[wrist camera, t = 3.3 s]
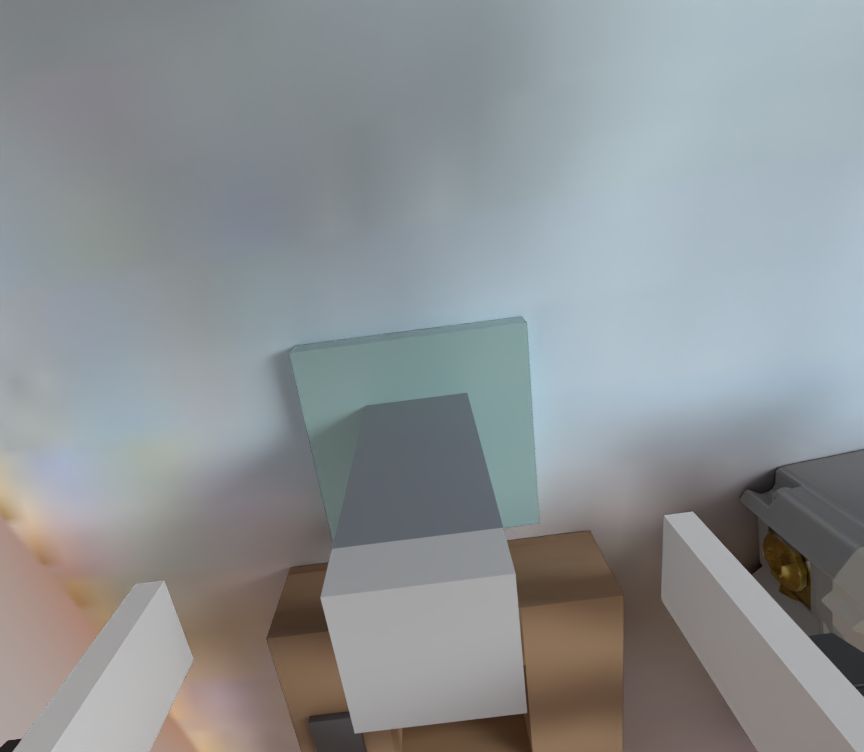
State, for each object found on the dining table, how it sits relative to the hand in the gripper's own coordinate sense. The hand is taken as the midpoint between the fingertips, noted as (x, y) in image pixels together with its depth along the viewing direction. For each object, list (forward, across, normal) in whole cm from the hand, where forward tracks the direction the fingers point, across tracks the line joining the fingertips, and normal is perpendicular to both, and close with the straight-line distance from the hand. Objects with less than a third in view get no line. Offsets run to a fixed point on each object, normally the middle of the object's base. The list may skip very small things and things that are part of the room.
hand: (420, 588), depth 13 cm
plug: (+8, 0, 0) cm, 8 cm away
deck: (+8, 0, 0) cm, 9 cm away
